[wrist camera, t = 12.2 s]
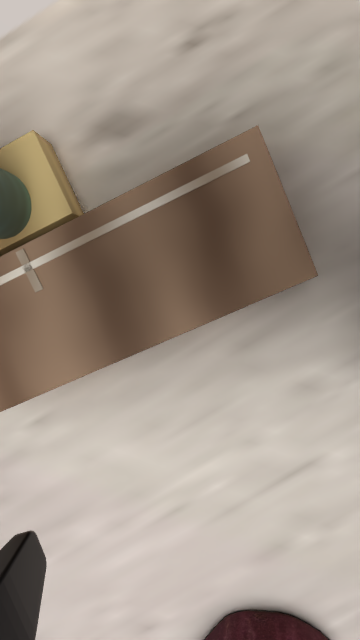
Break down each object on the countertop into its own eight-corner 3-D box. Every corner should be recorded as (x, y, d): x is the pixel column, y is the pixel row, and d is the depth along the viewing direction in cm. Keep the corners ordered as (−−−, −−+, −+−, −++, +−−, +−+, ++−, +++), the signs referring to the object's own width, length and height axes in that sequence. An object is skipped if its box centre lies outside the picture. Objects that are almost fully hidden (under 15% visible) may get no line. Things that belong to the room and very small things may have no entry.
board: (252, 140, 18) (258, 124, 16) (306, 275, 19) (318, 275, 17) (-43, 289, 21) (-70, 291, 19) (15, 400, 22) (-5, 414, 20)
